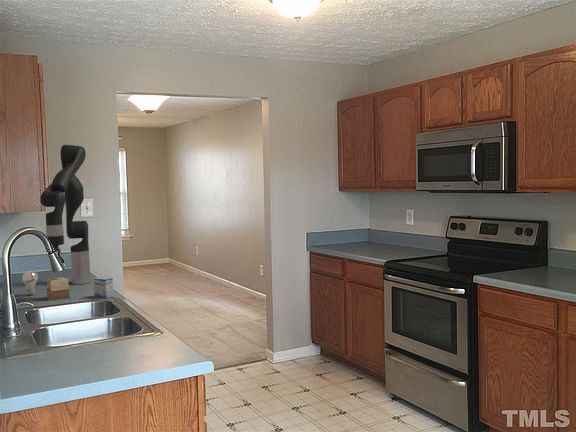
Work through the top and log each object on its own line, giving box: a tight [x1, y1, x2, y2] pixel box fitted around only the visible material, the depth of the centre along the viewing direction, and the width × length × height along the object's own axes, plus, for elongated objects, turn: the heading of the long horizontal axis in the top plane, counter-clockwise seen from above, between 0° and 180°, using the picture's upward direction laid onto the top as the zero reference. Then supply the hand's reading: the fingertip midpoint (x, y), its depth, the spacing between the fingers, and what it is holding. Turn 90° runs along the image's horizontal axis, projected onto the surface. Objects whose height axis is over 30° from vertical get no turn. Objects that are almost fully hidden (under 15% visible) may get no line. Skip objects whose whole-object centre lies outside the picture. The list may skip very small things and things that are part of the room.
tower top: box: [46, 276, 70, 291], centre depth 256 cm, size 8×8×4 cm
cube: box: [50, 264, 64, 275], centre depth 256 cm, size 5×5×5 cm
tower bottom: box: [46, 287, 71, 302], centre depth 257 cm, size 9×9×4 cm
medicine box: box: [93, 277, 114, 299], centre depth 256 cm, size 8×4×9 cm, turn 62°
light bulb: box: [21, 269, 39, 296], centre depth 265 cm, size 7×7×12 cm
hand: (56, 271), depth 256 cm, fingers closed on cube, 5 cm apart
